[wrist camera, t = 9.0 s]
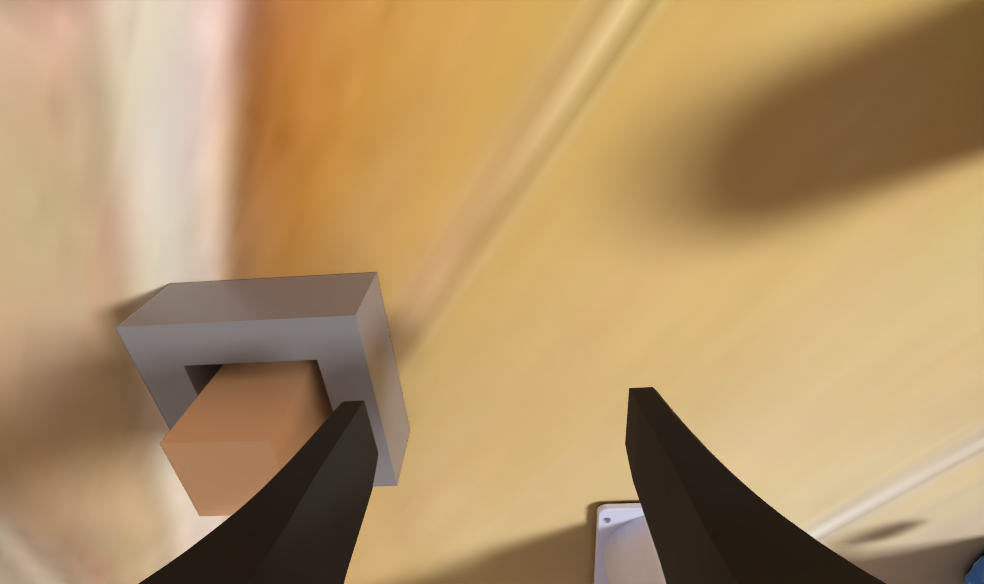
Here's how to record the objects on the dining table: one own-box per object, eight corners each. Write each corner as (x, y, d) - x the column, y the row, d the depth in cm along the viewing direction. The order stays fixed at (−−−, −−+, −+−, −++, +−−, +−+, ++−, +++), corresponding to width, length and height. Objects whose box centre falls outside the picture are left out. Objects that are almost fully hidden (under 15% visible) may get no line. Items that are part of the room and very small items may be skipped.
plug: (343, 404, 25) (297, 513, 19) (265, 407, 25) (199, 515, 20) (324, 339, 23) (268, 440, 17) (240, 342, 23) (159, 443, 18)
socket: (410, 430, 27) (397, 485, 23) (238, 436, 27) (203, 491, 24) (376, 272, 22) (355, 315, 19) (169, 283, 22) (114, 327, 19)
